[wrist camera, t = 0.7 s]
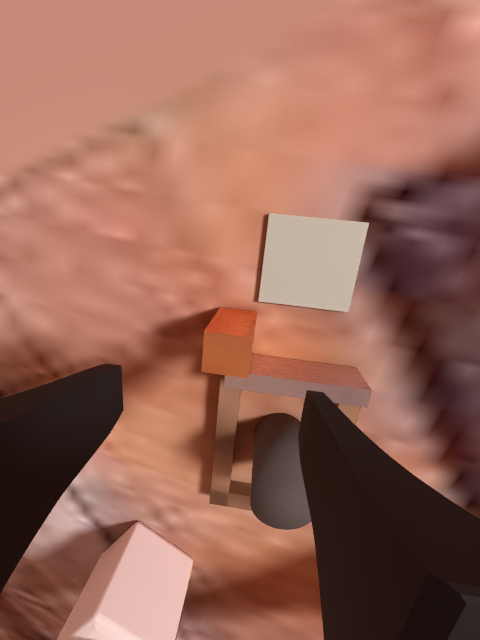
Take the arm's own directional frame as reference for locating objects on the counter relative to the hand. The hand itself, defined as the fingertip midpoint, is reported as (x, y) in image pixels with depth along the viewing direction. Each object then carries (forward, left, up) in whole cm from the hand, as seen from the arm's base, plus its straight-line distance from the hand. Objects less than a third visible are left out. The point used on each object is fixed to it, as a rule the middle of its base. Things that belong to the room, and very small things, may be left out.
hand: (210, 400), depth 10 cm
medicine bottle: (-26, +7, -10) cm, 28 cm away
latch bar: (-1, -4, -9) cm, 10 cm away
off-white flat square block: (+5, -4, -9) cm, 11 cm away
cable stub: (-9, -4, -9) cm, 14 cm away
